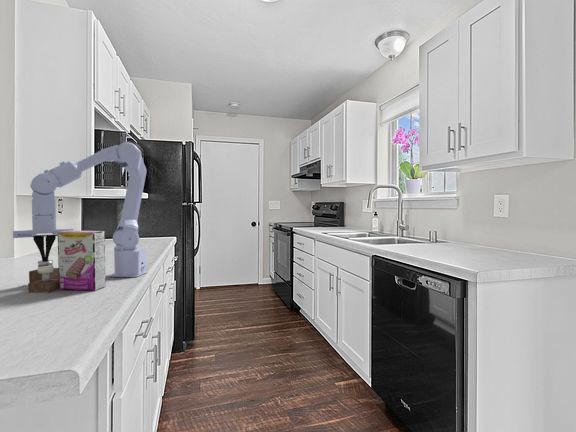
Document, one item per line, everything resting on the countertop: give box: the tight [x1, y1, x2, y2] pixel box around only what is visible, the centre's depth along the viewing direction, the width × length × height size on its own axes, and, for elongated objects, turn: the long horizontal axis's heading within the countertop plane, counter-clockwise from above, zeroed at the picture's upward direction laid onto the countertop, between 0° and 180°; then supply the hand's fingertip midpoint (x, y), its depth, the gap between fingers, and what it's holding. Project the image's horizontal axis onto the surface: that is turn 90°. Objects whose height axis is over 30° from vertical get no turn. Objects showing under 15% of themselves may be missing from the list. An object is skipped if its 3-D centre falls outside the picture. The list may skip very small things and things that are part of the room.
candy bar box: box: [57, 230, 106, 292], centre depth 97 cm, size 11×5×16 cm, turn 84°
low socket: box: [27, 279, 59, 294], centre depth 95 cm, size 6×6×2 cm
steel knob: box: [37, 259, 54, 268], centre depth 102 cm, size 4×4×6 cm
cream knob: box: [37, 265, 54, 282], centre depth 95 cm, size 4×4×4 cm
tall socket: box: [28, 267, 59, 283], centre depth 102 cm, size 6×6×4 cm
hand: (45, 261), depth 102 cm, fingers closed, pressing on steel knob
